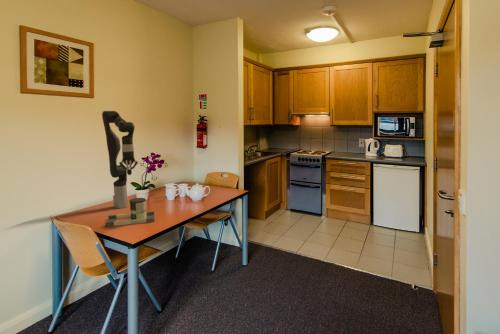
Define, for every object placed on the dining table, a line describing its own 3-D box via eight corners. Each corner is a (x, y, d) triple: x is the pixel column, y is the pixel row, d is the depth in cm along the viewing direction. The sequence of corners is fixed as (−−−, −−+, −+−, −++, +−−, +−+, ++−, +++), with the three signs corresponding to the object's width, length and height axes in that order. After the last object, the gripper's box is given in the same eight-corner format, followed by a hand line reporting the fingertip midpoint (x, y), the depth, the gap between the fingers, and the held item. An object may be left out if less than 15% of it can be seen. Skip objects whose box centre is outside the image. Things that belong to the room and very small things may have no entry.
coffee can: (128, 222, 199) (127, 201, 197) (133, 217, 209) (132, 198, 207) (144, 221, 199) (143, 201, 197) (148, 217, 209) (147, 197, 207)
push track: (105, 226, 191) (105, 222, 190) (108, 219, 206) (108, 215, 205) (154, 221, 200) (154, 218, 199) (154, 214, 215) (154, 211, 214)
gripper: (138, 149, 216) (139, 173, 218) (118, 150, 212) (120, 174, 214) (137, 150, 209) (139, 175, 211) (117, 151, 205) (118, 176, 207)
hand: (129, 174), depth 213 cm, fingers closed
